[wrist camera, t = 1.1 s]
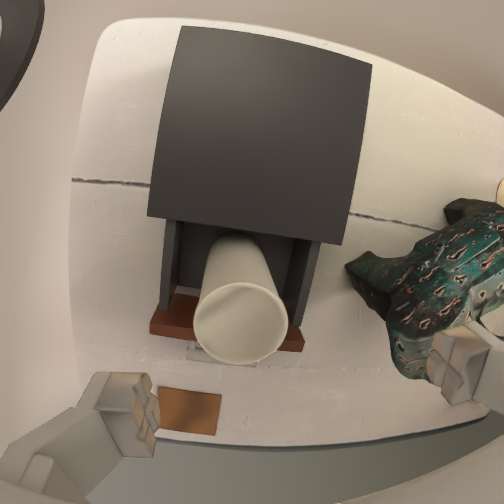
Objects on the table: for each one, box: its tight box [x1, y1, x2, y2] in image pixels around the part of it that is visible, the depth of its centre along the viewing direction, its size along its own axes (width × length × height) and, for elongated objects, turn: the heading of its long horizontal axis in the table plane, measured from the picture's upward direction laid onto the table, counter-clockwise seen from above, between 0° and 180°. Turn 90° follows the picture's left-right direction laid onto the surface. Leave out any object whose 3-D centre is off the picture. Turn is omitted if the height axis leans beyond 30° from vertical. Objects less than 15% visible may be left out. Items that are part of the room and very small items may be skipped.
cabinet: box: [147, 26, 372, 245], centre depth 25 cm, size 15×15×9 cm
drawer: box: [149, 219, 321, 367], centre depth 28 cm, size 18×13×7 cm
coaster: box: [158, 386, 221, 436], centre depth 37 cm, size 8×8×1 cm
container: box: [193, 233, 288, 365], centre depth 24 cm, size 5×5×13 cm
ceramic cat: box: [345, 198, 504, 384], centre depth 23 cm, size 20×6×20 cm, turn 117°
